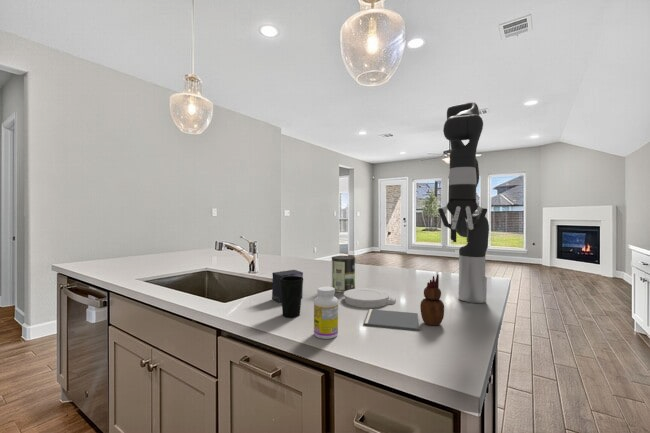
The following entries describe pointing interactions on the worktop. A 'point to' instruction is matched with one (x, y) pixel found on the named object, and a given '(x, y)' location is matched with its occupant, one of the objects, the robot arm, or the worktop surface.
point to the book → (392, 319)
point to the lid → (368, 298)
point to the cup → (291, 295)
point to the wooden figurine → (432, 303)
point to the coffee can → (343, 273)
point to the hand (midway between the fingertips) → (461, 241)
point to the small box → (276, 282)
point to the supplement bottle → (326, 313)
